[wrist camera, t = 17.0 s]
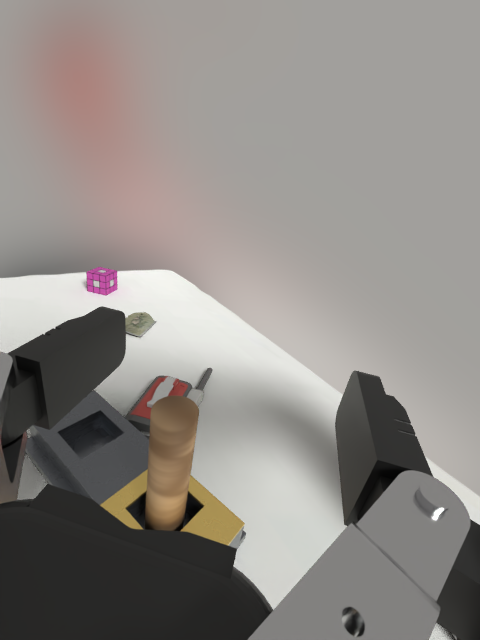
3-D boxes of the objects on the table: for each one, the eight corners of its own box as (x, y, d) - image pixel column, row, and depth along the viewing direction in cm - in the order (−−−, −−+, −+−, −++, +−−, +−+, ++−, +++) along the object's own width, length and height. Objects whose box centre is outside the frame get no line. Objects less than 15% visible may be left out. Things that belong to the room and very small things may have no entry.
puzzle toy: (117, 289, 90) (117, 270, 87) (106, 295, 84) (105, 276, 82) (99, 285, 90) (98, 266, 88) (87, 291, 85) (86, 271, 83)
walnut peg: (166, 501, 35) (176, 389, 28) (190, 526, 33) (208, 412, 26) (136, 528, 32) (140, 409, 25) (161, 557, 30) (173, 436, 23)
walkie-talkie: (175, 456, 42) (214, 376, 60) (177, 433, 40) (217, 357, 58) (117, 439, 43) (172, 365, 61) (116, 415, 41) (174, 346, 59)
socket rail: (102, 407, 48) (101, 385, 46) (244, 538, 34) (251, 514, 32) (22, 447, 39) (16, 422, 37) (166, 644, 25) (169, 620, 23)
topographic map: (163, 316, 80) (163, 310, 79) (140, 338, 67) (140, 332, 67) (114, 307, 81) (114, 301, 80) (83, 328, 68) (82, 321, 68)
